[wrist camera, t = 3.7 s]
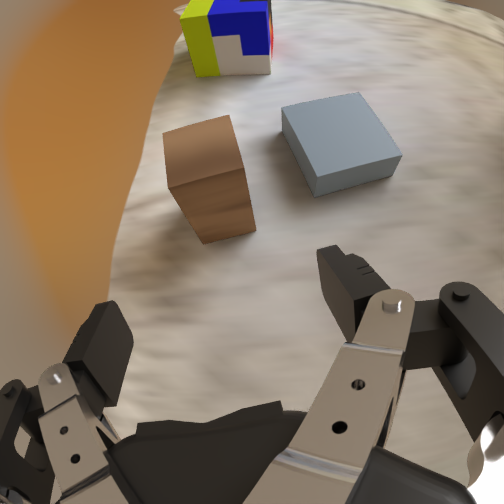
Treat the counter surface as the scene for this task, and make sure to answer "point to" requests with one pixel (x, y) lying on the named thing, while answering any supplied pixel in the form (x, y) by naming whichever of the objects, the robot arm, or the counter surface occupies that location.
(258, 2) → the puzzle toy
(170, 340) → the counter surface
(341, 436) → the robot arm
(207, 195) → the walnut block
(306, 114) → the slate plinth
